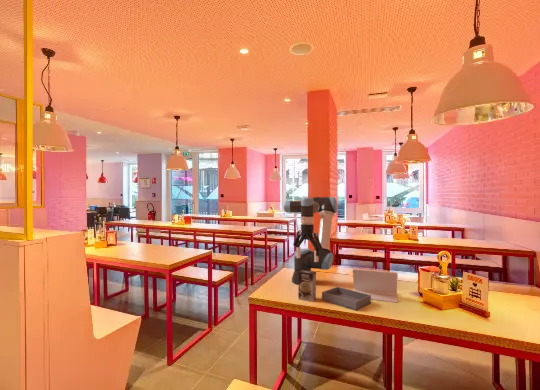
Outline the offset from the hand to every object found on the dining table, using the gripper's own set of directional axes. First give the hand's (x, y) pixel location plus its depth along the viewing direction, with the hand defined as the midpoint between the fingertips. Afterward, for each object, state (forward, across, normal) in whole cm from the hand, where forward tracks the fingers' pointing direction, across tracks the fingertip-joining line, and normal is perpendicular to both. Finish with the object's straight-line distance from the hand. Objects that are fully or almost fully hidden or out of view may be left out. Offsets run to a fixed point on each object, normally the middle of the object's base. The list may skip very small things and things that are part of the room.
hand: (307, 259), depth 164 cm
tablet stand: (+23, +24, +36) cm, 49 cm away
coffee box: (+23, 0, 0) cm, 23 cm away
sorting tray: (+23, +18, +13) cm, 32 cm away
